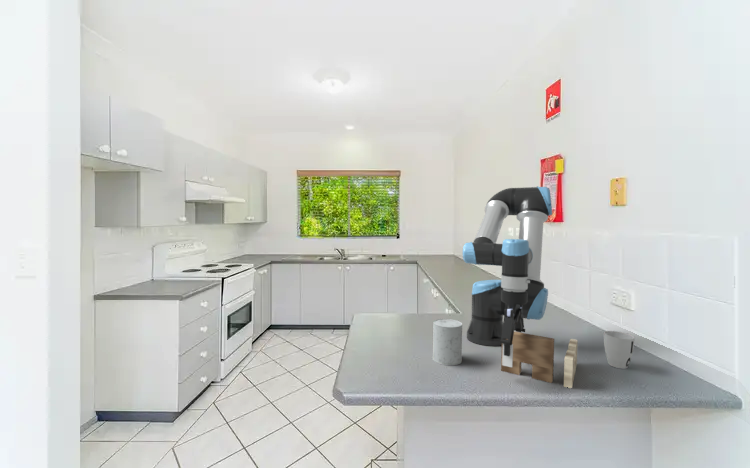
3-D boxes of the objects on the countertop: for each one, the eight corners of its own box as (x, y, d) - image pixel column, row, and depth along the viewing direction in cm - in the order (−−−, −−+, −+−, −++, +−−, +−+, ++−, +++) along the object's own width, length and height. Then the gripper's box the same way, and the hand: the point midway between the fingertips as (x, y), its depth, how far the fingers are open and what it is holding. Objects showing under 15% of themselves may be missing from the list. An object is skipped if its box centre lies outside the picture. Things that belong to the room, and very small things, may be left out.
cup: (635, 373, 104) (636, 340, 104) (603, 366, 108) (604, 335, 108) (632, 364, 111) (633, 333, 111) (602, 358, 115) (603, 329, 115)
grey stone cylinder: (462, 356, 116) (463, 320, 116) (460, 367, 107) (461, 328, 106) (434, 352, 119) (435, 317, 119) (430, 362, 110) (430, 325, 110)
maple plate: (571, 388, 94) (572, 359, 93) (563, 386, 95) (564, 358, 94) (576, 364, 110) (577, 340, 110) (569, 362, 111) (570, 338, 111)
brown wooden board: (501, 370, 105) (501, 332, 104) (503, 367, 107) (504, 329, 107) (551, 383, 97) (552, 341, 96) (553, 379, 99) (554, 338, 99)
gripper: (518, 297, 91) (516, 376, 92) (534, 285, 112) (533, 349, 112) (490, 294, 95) (488, 369, 96) (510, 283, 116) (509, 344, 116)
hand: (512, 358), depth 104 cm, fingers open, 13 cm apart
